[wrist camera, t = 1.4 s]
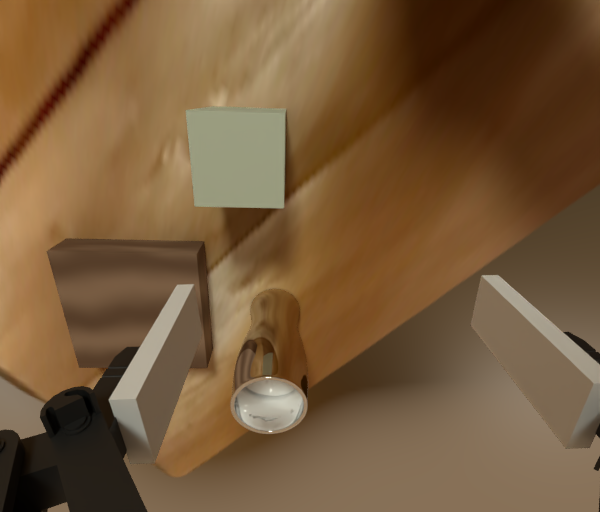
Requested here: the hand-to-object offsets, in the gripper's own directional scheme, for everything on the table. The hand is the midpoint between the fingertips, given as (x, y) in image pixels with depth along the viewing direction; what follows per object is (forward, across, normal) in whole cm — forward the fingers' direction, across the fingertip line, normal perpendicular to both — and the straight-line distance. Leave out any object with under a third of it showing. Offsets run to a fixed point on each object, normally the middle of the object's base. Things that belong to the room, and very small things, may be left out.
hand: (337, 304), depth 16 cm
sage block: (+23, -6, +4) cm, 24 cm away
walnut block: (+23, -20, -13) cm, 33 cm away
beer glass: (+23, -5, -15) cm, 28 cm away
